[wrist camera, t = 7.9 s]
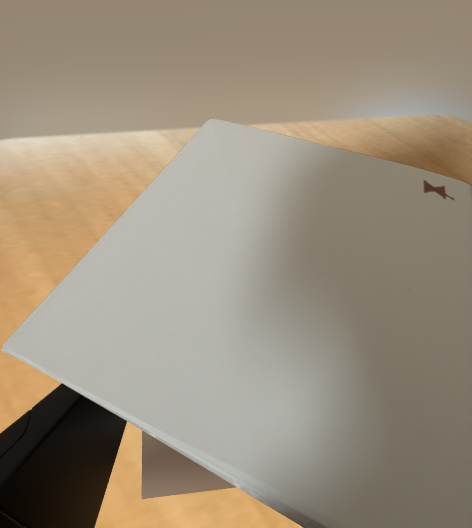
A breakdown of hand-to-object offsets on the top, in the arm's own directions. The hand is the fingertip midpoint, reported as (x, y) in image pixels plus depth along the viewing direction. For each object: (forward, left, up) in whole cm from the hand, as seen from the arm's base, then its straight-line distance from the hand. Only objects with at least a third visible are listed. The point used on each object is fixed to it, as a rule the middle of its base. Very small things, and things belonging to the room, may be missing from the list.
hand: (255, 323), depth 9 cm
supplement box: (-1, +1, -7) cm, 7 cm away
